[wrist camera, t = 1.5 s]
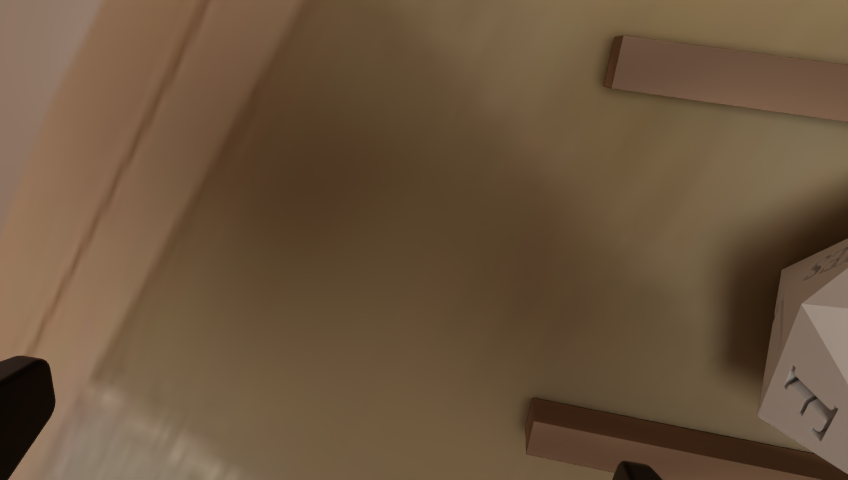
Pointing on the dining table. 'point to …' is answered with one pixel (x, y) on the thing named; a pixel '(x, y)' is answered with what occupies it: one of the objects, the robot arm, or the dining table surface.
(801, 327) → the die
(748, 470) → the lane
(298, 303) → the dining table surface
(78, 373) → the dining table surface
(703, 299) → the dining table surface
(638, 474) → the robot arm
